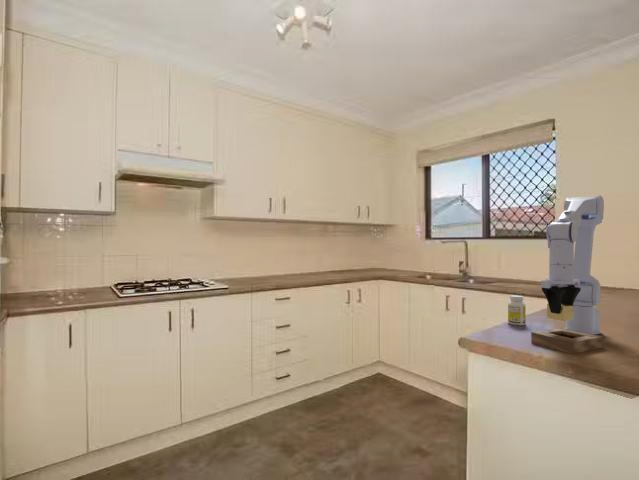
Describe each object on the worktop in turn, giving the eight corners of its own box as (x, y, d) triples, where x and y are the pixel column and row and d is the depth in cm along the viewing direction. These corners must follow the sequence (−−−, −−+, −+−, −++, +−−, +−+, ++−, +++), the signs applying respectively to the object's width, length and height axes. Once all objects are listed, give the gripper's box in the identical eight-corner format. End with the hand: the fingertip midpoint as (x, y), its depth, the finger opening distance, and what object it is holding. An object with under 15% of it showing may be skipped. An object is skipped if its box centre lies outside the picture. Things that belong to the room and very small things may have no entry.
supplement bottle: (519, 322, 128) (519, 294, 128) (528, 325, 123) (529, 297, 123) (504, 322, 128) (505, 294, 128) (513, 325, 122) (513, 297, 122)
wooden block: (556, 316, 104) (557, 303, 104) (573, 319, 100) (573, 305, 100) (546, 317, 102) (547, 303, 102) (563, 321, 98) (563, 306, 98)
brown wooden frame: (561, 337, 108) (561, 327, 108) (603, 347, 98) (603, 336, 98) (531, 342, 102) (531, 332, 102) (572, 354, 92) (572, 342, 92)
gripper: (562, 263, 108) (562, 308, 108) (530, 264, 102) (530, 311, 102) (588, 264, 101) (587, 312, 101) (556, 265, 95) (555, 316, 95)
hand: (560, 312), depth 101 cm, fingers closed on wooden block, 4 cm apart
